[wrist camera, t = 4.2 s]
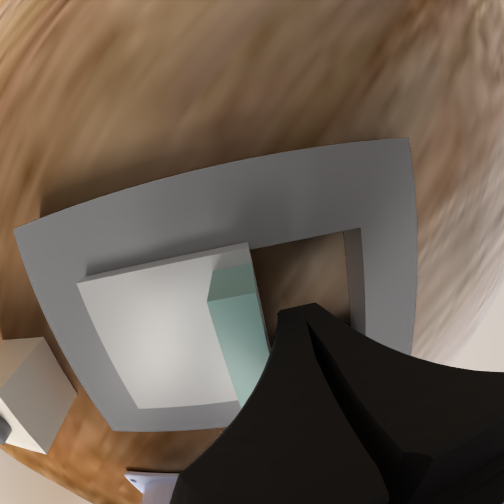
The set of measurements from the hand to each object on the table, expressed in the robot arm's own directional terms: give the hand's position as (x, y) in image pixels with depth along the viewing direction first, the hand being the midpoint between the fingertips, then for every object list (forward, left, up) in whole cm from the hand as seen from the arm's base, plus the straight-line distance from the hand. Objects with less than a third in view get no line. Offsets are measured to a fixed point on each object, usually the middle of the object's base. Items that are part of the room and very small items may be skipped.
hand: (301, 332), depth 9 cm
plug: (-2, +15, -3) cm, 16 cm away
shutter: (0, +4, -1) cm, 4 cm away
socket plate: (0, +3, -3) cm, 4 cm away
